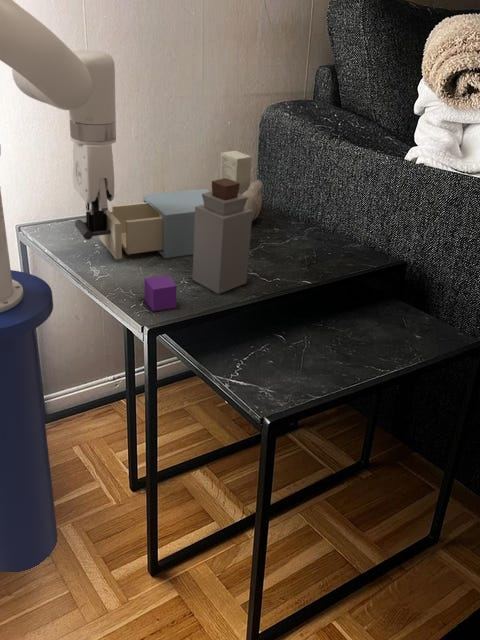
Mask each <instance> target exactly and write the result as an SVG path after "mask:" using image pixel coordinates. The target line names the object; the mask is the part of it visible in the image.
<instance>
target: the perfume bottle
mask: <svg viewBox="0 0 480 640" xmlns="http://www.w3.org/2000/svg"><path fill="white" fill-rule="evenodd" d="M239 185H240V183H238V182H235V181H233V180H230V179H227V178H224V179H220V178H219V179H215V180H211V191H210V192H208V193H203V194H202V197H203V202H204V205H200V206H196V207H195V227H194V252H193V254H192V281H194V282H196V283H198V284H200V285H201V286H203V287H205V288H207V289H209V290H211V291H212V292H213V293H216V294H218V295H220V294H222V293H225V292H227V291H231V290H232V289H235V288H238V287H240V286H242V285H246V284H247V282H248V281H247V279H248V269H249V268H248V267H249V258H250V257H249V256H250V245H251V236H252V235H251V234H252V226H253V225H252V224H253V223H252V222H253V221H252V213H253V211H252V210H250V209H247V208H245V204H246V201H247V199H248V197H246V196H244V195H241V194H239V193H238V191H239Z"/></svg>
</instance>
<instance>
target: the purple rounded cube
mask: <svg viewBox="0 0 480 640" xmlns="http://www.w3.org/2000/svg"><path fill="white" fill-rule="evenodd" d="M143 286H144V289H143V290H144V302H145V303H146V305H148V307H149V308H150V310H151V311H152V312H158V311H165V310H169V309H175V308H177V297H178V295H177V294H178V292H177V291H178V290H177V289H178V286H177V284H176V283H175V281H173V280H172V278H171V277H170V276H169V275H168V274H167V275H161V276H153V277H147V278H144V285H143Z"/></svg>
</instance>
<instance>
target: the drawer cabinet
mask: <svg viewBox="0 0 480 640" xmlns="http://www.w3.org/2000/svg"><path fill="white" fill-rule="evenodd" d="M208 192H211V191H210V190H208V189H207V188H200V189H190V190H179V191H178V190H177V191H168V192H167V191H166V192H157V193H147V194H142V203H143V202H147V203H148V204H149V205H151V206H152V207H153V208H154V209H155V210H156V211H157V212H158V213H159V214H160V215H161V216H162V217H163V218H164V220H163V250H157V253H159V254H160V255H161V257H163V258H164V259H170V258H175V257H176V258H177V257H184V256H190V255H192V256H193V252H194V227H195V207H196V206H200V205H204V202H203V197H202V194H203V193H208Z"/></svg>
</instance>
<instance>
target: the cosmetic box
mask: <svg viewBox="0 0 480 640" xmlns="http://www.w3.org/2000/svg"><path fill="white" fill-rule="evenodd" d="M251 169H252V156H251V155H249V154H246V153H243V152H240V151H238V150H228V151H221V152H220V169H219V170H220V172H219V173H220V175H219V179H224V178H227V179H230V180H233V181H235V182H238V183H240V185H239V191H238V193H239V194H241V192H242V191H244V190H246V189H248V188H249V186H250V184H251V172H252V170H251Z"/></svg>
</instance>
